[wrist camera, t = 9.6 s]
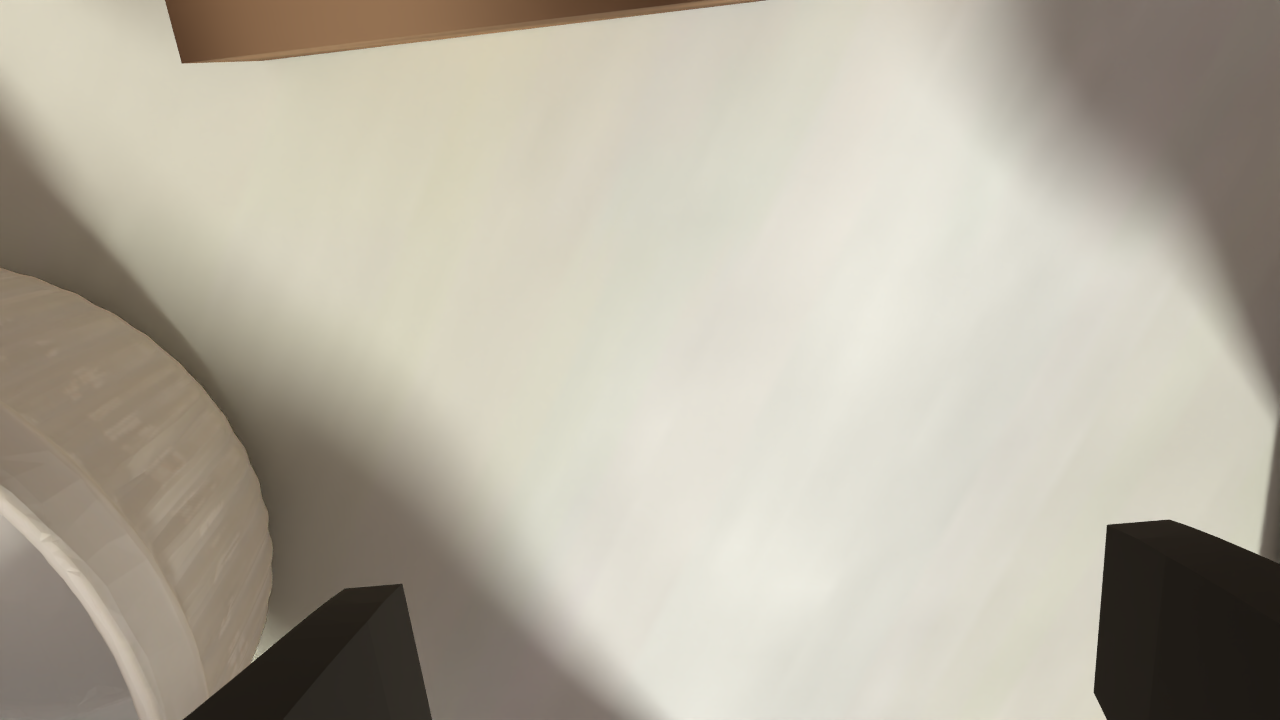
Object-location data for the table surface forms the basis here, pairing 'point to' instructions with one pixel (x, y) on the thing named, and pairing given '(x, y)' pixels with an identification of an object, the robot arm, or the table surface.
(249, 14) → the socket
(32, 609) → the ramekin
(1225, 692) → the robot arm
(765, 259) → the table surface
